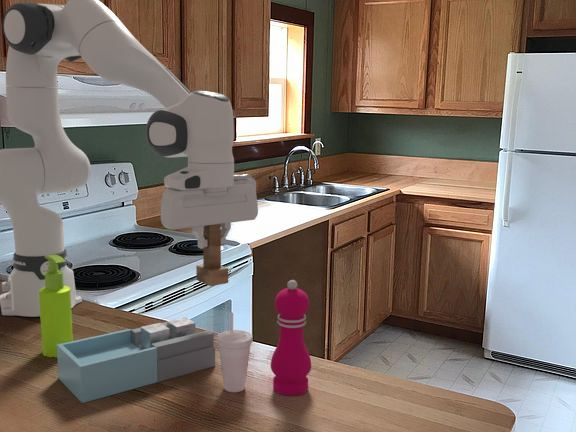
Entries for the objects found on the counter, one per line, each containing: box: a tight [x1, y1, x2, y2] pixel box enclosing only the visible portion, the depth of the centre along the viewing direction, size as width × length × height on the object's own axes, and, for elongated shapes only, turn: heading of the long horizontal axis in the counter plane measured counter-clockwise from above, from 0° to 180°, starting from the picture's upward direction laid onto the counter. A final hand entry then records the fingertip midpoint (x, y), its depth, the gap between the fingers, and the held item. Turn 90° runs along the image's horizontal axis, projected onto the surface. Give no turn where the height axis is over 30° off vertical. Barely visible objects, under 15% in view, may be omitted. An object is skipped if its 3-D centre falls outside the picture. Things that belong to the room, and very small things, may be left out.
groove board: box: [130, 321, 216, 383], centre depth 122 cm, size 12×12×6 cm
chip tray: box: [56, 328, 159, 404], centre depth 115 cm, size 12×14×6 cm
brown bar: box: [196, 224, 229, 287], centre depth 125 cm, size 6×4×12 cm
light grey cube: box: [140, 322, 170, 349], centre depth 120 cm, size 4×4×4 cm
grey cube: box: [166, 316, 196, 339], centre depth 123 cm, size 4×4×4 cm
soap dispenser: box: [39, 255, 74, 358], centre depth 126 cm, size 6×7×20 cm
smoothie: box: [216, 311, 254, 393], centre depth 112 cm, size 6×6×14 cm
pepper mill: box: [270, 279, 312, 397], centre depth 111 cm, size 7×7×20 cm
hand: (211, 246), depth 125 cm, fingers closed on brown bar, 2 cm apart
